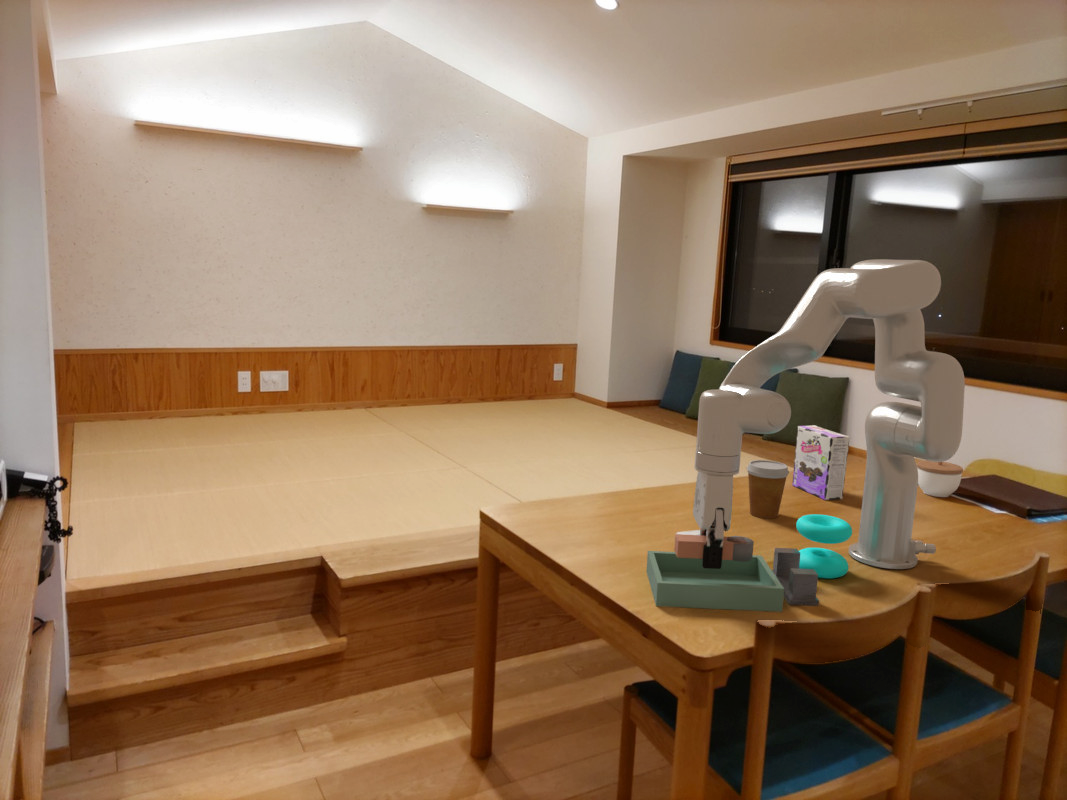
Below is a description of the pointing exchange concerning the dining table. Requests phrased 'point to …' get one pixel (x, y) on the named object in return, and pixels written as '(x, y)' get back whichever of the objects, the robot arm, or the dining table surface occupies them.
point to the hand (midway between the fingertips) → (709, 562)
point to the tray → (713, 583)
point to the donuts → (828, 533)
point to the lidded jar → (938, 477)
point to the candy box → (820, 462)
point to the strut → (732, 547)
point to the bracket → (795, 578)
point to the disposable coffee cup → (766, 487)
